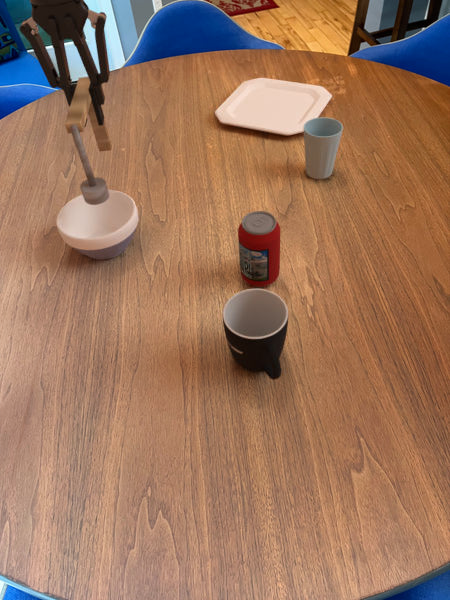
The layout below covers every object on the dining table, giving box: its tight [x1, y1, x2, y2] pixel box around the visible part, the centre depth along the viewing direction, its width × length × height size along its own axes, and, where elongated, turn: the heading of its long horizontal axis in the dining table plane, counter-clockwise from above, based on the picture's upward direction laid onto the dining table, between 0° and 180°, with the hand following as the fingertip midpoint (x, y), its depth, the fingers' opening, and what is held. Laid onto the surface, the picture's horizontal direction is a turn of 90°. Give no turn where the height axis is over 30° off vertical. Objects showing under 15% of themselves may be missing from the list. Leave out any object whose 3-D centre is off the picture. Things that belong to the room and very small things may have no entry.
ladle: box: [64, 76, 113, 205], centre depth 83 cm, size 18×4×14 cm, turn 4°
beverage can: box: [237, 210, 281, 287], centre depth 79 cm, size 7×7×12 cm
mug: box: [222, 288, 289, 380], centre depth 68 cm, size 12×9×10 cm
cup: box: [303, 116, 344, 180], centre depth 98 cm, size 8×8×10 cm
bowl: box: [55, 189, 139, 261], centre depth 89 cm, size 14×14×8 cm
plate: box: [214, 77, 333, 136], centre depth 120 cm, size 25×25×2 cm
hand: (93, 122), depth 86 cm, fingers closed on ladle, 2 cm apart
